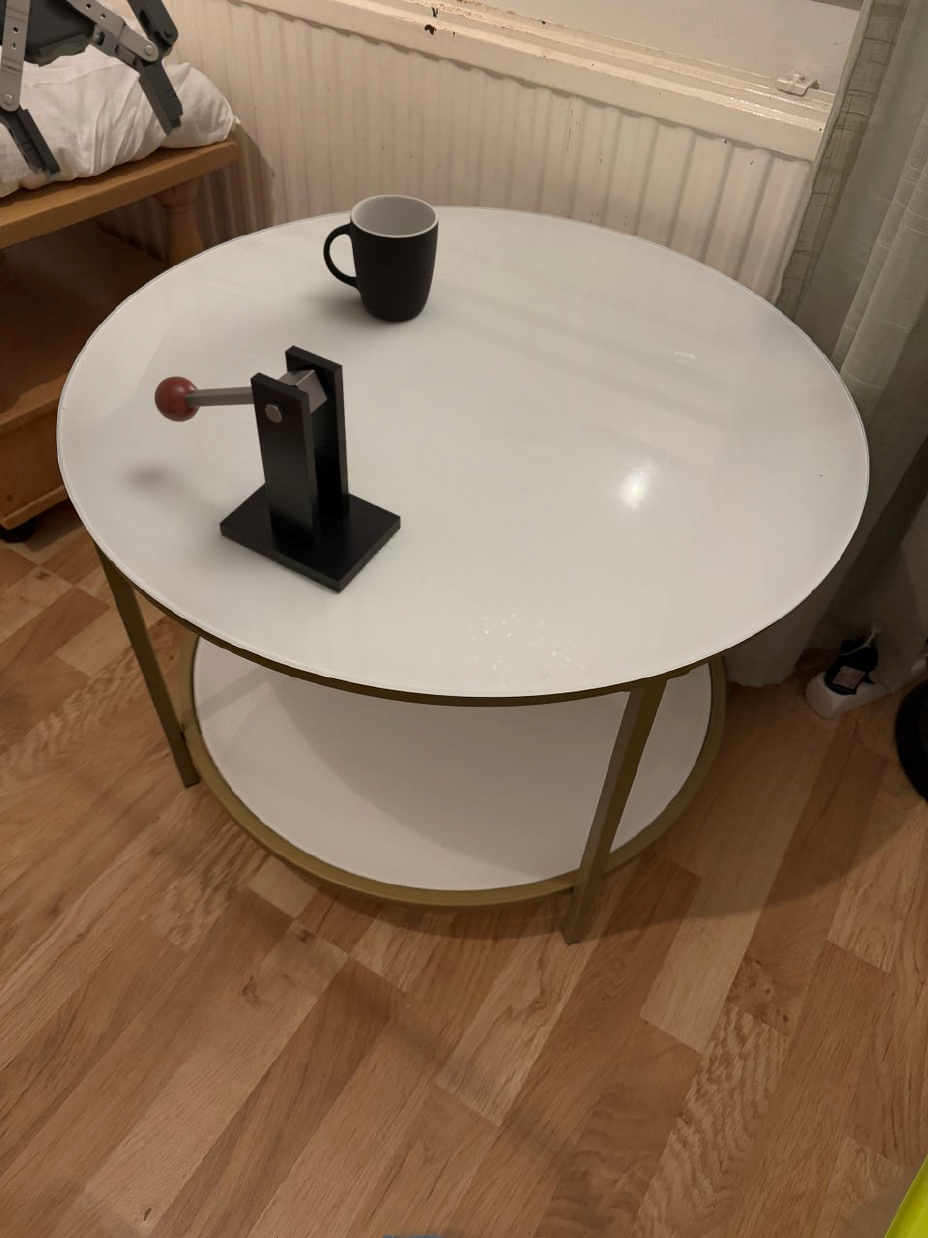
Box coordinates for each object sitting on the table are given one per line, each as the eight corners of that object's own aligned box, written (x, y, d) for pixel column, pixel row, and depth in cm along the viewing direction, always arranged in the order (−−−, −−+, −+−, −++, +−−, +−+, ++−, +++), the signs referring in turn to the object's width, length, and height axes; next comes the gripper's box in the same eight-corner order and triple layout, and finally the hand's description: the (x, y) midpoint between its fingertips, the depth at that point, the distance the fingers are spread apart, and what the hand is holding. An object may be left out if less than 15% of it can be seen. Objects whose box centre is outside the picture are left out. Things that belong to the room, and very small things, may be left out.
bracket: (220, 534, 75) (187, 373, 63) (287, 475, 80) (268, 315, 68) (339, 593, 72) (329, 435, 60) (400, 527, 77) (402, 369, 65)
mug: (439, 288, 102) (442, 198, 94) (430, 332, 96) (433, 240, 88) (333, 277, 102) (328, 187, 94) (318, 321, 96) (311, 228, 89)
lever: (159, 430, 75) (137, 391, 72) (189, 408, 77) (168, 369, 75) (307, 427, 65) (286, 381, 63) (336, 401, 67) (317, 356, 65)
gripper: (-166, -137, 47) (15, 177, 53) (84, -198, 52) (225, 96, 58) (-149, -65, 54) (11, 208, 60) (72, -125, 59) (200, 133, 65)
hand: (116, 153), depth 59 cm, fingers open, 8 cm apart
